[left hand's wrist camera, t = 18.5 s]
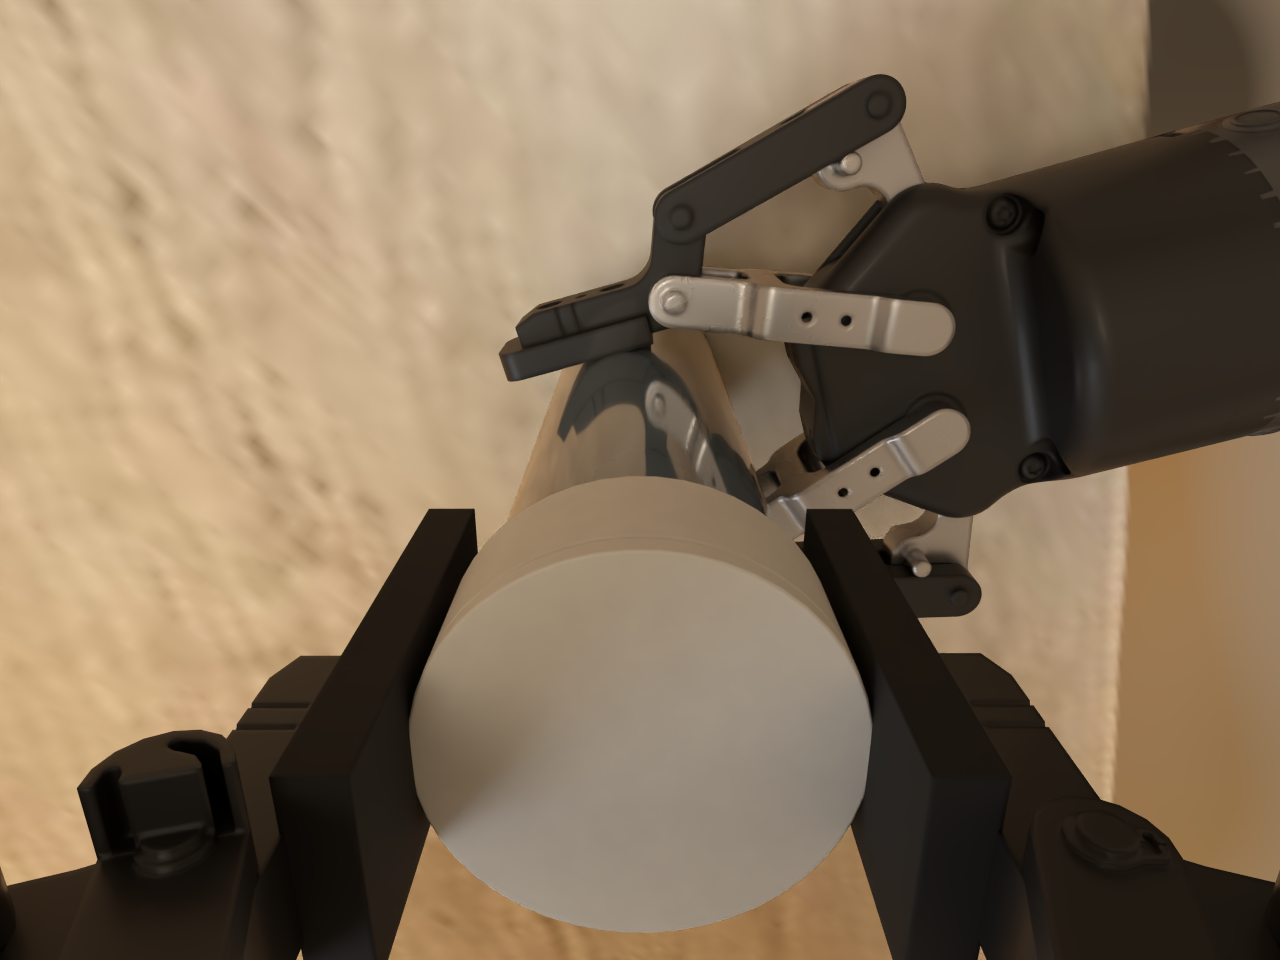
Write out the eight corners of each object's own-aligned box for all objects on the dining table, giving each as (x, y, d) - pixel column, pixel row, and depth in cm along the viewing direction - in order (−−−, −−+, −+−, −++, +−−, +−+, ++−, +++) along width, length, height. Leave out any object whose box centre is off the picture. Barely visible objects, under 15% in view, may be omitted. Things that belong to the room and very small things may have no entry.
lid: (663, 390, 11) (668, 450, 9) (908, 670, 13) (965, 780, 10) (367, 635, 12) (308, 741, 10) (622, 862, 14) (619, 997, 12)
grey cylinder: (692, 459, 29) (766, 893, 12) (551, 425, 29) (420, 824, 12) (732, 320, 28) (886, 594, 10) (584, 282, 27) (488, 501, 10)
